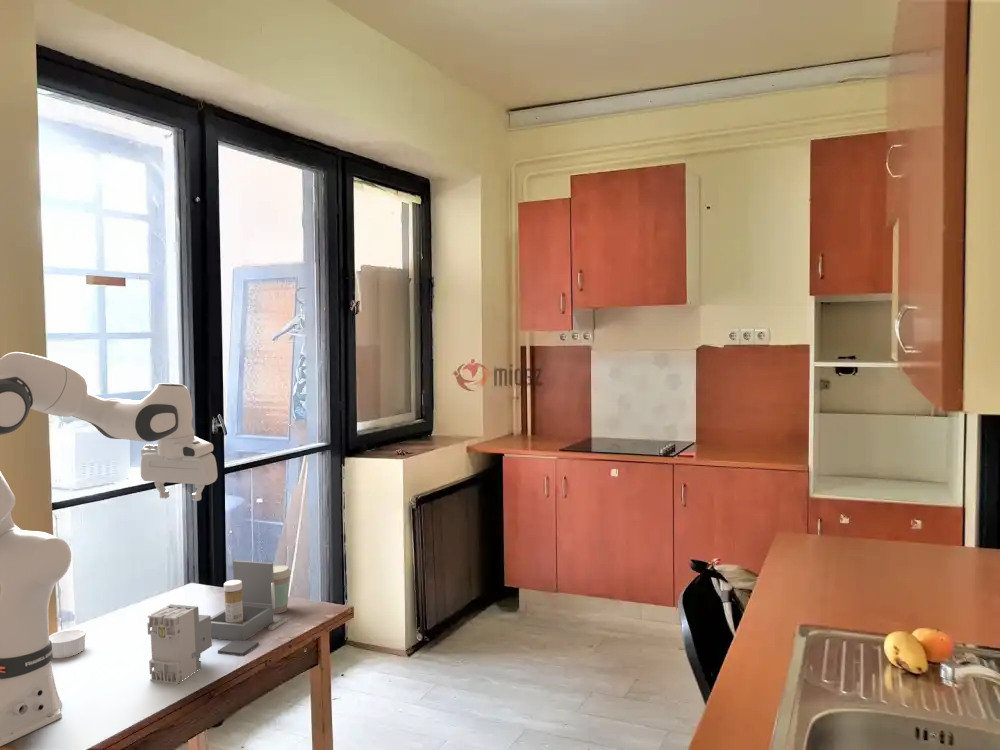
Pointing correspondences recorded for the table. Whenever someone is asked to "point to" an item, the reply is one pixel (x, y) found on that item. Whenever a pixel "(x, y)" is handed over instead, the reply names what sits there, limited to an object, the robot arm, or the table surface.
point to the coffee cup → (281, 587)
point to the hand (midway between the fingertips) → (180, 499)
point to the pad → (238, 647)
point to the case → (249, 601)
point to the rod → (277, 623)
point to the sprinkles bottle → (233, 601)
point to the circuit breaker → (177, 642)
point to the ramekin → (67, 643)
